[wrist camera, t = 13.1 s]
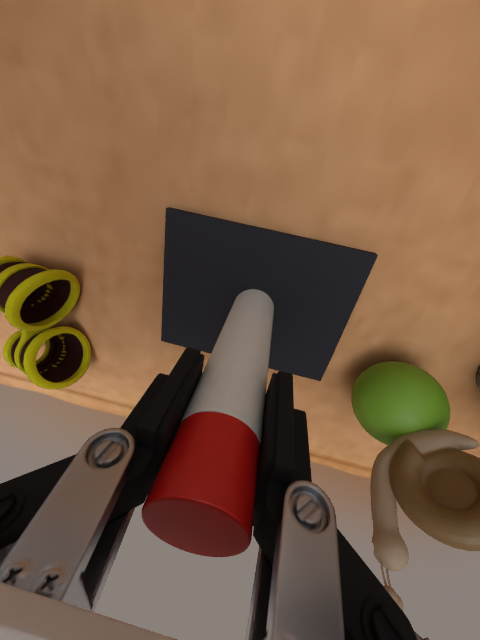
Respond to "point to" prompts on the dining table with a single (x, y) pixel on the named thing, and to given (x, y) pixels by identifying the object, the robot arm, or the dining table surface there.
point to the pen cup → (478, 378)
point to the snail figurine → (416, 463)
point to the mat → (259, 287)
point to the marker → (218, 442)
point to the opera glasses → (42, 323)
